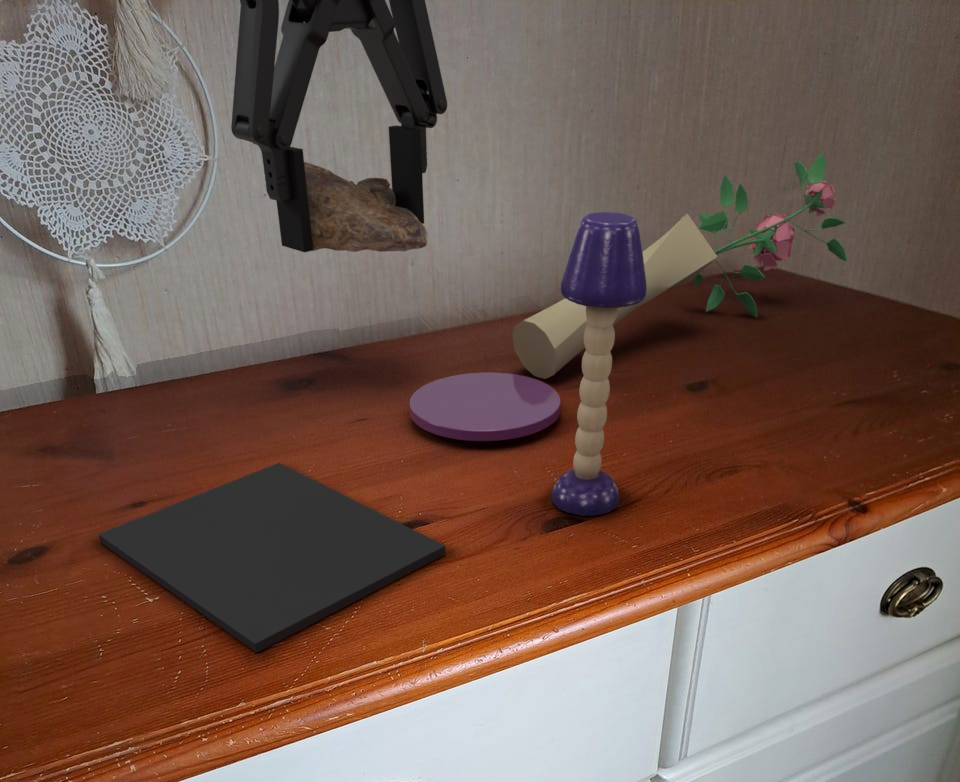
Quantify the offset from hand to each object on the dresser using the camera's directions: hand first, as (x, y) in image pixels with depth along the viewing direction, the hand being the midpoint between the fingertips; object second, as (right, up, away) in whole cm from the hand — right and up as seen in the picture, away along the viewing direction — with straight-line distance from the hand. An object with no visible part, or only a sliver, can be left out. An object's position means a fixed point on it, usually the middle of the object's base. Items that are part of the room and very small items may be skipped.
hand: (355, 234), depth 72 cm
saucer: (+10, -14, -1) cm, 17 cm away
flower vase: (+27, -3, +14) cm, 30 cm away
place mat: (-3, -25, -16) cm, 30 cm away
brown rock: (0, 0, 0) cm, 1 cm away
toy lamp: (+16, -22, -12) cm, 30 cm away
